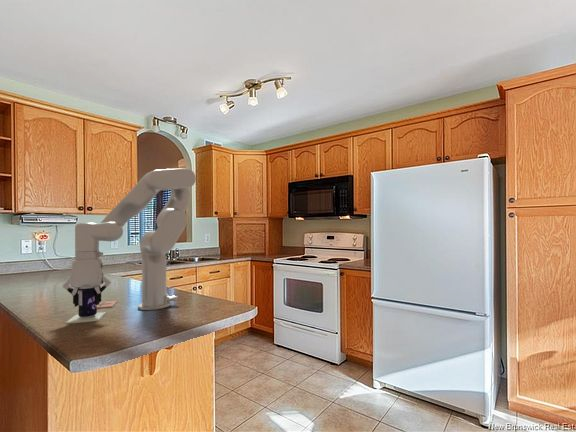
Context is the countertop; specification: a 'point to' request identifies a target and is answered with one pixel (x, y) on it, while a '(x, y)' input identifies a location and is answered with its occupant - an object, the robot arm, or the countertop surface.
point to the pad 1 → (78, 319)
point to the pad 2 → (106, 304)
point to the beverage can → (87, 301)
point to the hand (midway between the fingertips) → (87, 304)
